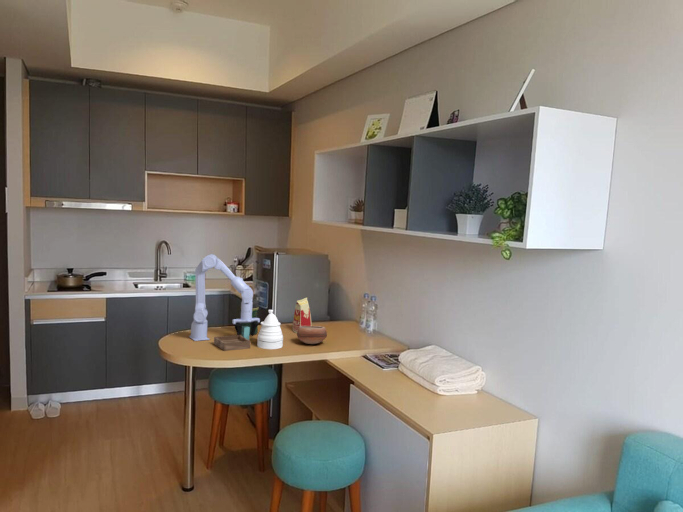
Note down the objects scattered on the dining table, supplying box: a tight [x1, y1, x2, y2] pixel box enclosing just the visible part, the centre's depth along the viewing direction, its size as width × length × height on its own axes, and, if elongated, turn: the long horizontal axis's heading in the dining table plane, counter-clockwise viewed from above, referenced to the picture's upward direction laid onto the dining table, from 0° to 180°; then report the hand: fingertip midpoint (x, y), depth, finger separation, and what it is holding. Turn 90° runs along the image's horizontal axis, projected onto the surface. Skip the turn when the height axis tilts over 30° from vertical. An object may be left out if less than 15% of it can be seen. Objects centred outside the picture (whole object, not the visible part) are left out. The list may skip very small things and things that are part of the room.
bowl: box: [296, 325, 328, 345], centre depth 276 cm, size 16×16×10 cm
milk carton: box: [292, 297, 312, 334], centre depth 301 cm, size 9×9×20 cm
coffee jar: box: [240, 300, 260, 336], centre depth 289 cm, size 10×8×19 cm
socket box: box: [213, 334, 251, 352], centre depth 262 cm, size 14×14×4 cm
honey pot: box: [256, 309, 284, 350], centre depth 267 cm, size 13×13×18 cm
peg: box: [241, 326, 250, 341], centre depth 276 cm, size 3×3×7 cm
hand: (245, 336), depth 276 cm, fingers open, 7 cm apart
